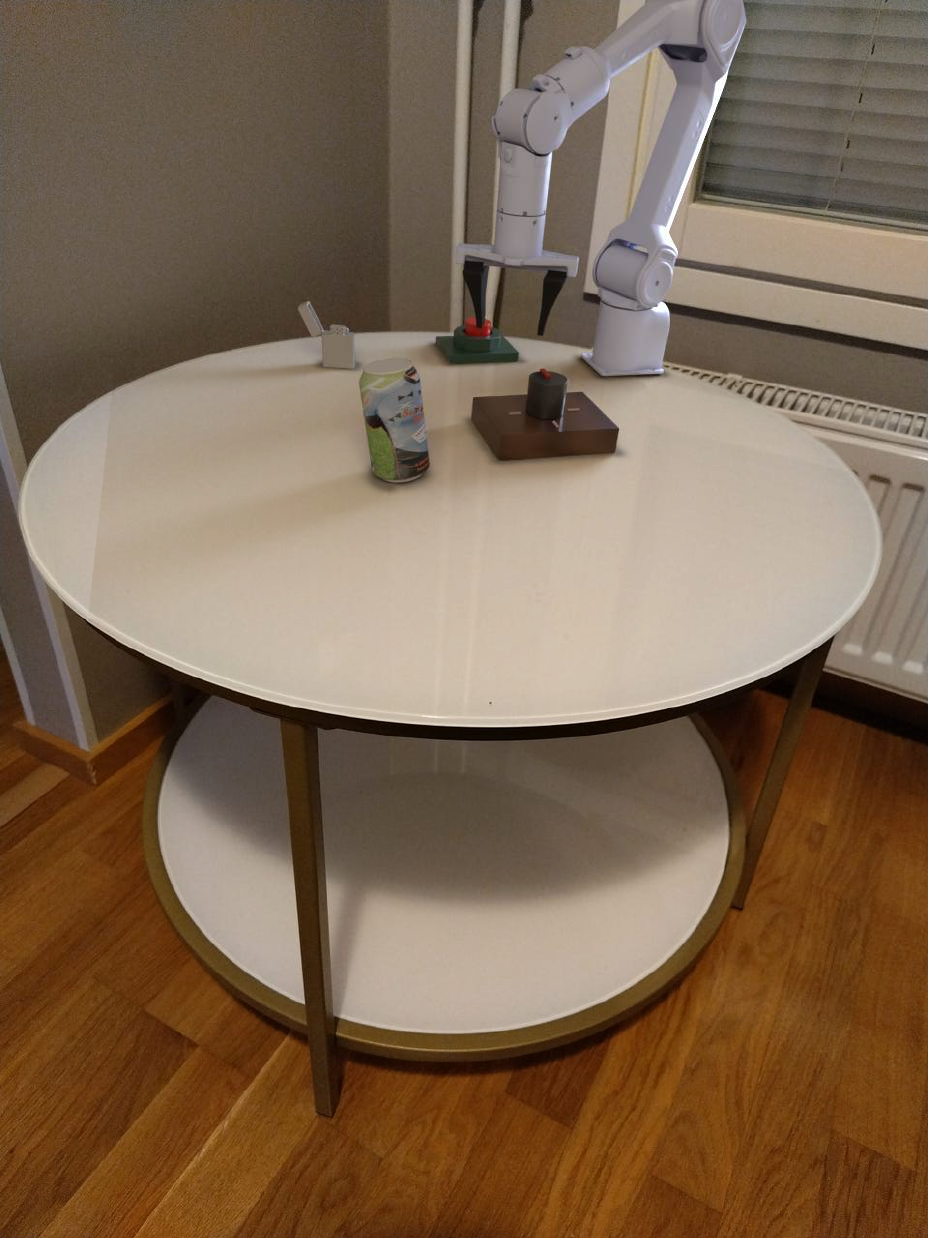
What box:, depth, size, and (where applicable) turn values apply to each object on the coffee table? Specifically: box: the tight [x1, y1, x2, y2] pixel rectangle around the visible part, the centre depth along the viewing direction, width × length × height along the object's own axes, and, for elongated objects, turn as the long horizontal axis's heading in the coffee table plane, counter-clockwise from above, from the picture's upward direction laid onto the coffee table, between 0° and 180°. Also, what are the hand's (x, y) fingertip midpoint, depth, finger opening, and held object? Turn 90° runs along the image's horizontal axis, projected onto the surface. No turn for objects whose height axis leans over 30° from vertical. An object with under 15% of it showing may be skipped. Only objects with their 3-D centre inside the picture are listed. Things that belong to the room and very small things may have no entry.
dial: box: [525, 368, 569, 419], centre depth 98 cm, size 4×4×4 cm
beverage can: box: [358, 357, 431, 484], centre depth 87 cm, size 6×7×12 cm
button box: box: [435, 324, 520, 365], centre depth 122 cm, size 10×8×3 cm
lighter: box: [297, 300, 356, 370], centre depth 113 cm, size 7×2×8 cm, turn 87°
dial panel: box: [470, 391, 620, 462], centre depth 100 cm, size 14×11×3 cm
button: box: [464, 317, 492, 337], centre depth 121 cm, size 4×4×2 cm
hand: (510, 329), depth 107 cm, fingers open, 7 cm apart
